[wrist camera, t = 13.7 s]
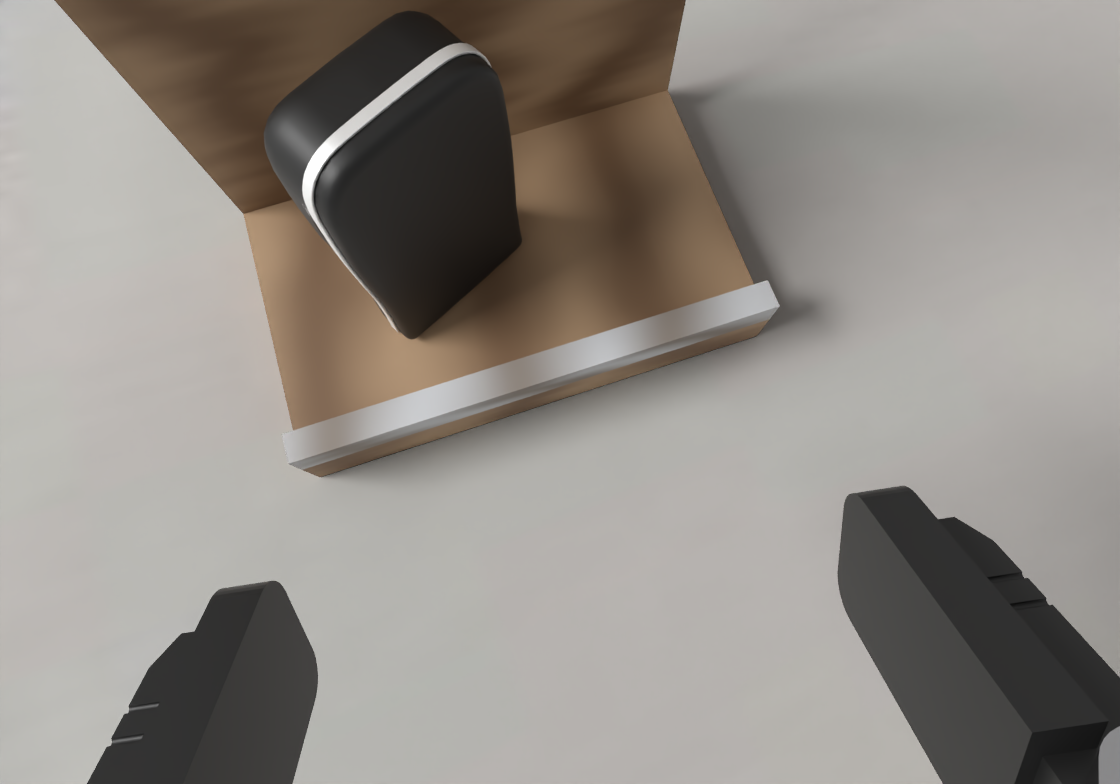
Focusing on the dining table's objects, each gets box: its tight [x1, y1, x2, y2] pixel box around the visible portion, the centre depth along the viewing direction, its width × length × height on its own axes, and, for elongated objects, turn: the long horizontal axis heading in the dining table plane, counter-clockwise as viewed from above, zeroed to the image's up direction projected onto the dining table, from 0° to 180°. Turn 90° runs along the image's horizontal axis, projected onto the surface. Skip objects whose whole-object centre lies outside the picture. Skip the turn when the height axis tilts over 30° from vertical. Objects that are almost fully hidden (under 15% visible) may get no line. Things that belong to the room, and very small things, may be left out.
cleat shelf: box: [55, 0, 779, 477], centre depth 20 cm, size 20×14×24 cm
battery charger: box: [264, 10, 522, 340], centre depth 24 cm, size 7×4×11 cm, turn 135°
